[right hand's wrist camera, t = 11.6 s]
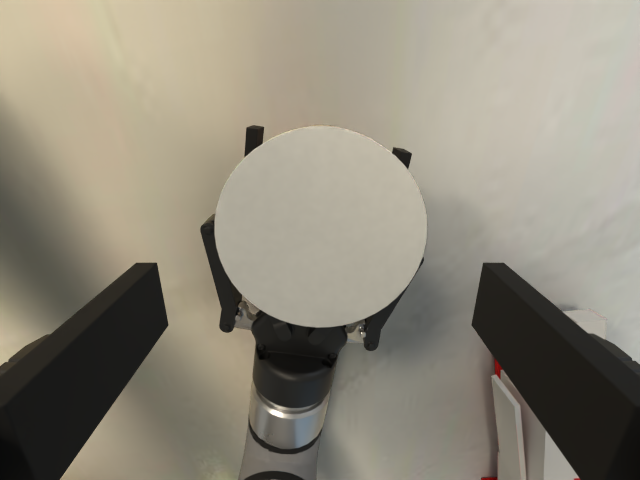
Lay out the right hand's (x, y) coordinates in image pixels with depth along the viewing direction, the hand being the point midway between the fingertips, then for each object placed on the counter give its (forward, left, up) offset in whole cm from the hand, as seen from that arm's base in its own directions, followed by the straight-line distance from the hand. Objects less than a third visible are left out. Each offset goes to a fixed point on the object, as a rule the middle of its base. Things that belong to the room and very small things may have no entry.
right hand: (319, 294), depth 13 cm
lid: (0, 0, -6) cm, 6 cm away
